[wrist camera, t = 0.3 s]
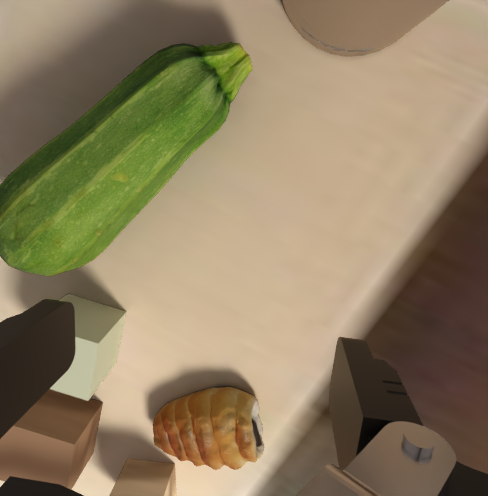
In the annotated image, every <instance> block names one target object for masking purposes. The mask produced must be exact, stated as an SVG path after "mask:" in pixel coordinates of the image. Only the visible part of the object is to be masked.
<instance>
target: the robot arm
mask: <svg viewBox="0 0 488 496" xmlns="http://www.w3.org/2000/svg"><path fill="white" fill-rule="evenodd" d="M448 1H449V0H282V2H283V5H284V8H285V11H286V13H287V15H288V17H289V19H290V21H291V23H292V24H293V26H294V27H295V29H296V30H297V31H298V32H299V33H300V34H301V35H302V37H303V38H304V39H305V40H307V41H308V42H310V43H311V44H312V45H314V46H315V47H316V48H318V49H321V50H323V51H326V52H328V53H330V54H335V55H341V56H360V55H366V54H369V53H373V52H376V51H379V50H381V49H383V48H385V47H387V46H389V45H390V44H392V43H394V42H396V41H397V40H398V39H399V38H401V37H402V36H403V35H405V34H406V33H407V32H408V31H410V30H411V29H412V28H414V27H415V26H417V25H418V24H419V23H421V22H422V21H423V20H425V19H426V18H427V17H429V16H430V15H431V14H432V13H434V12H435V11H436V10H437V9H439V8H440V7H441V6H443V5H444V4H445V3H446V2H448ZM75 349H76V346H75V310H74V306H73V304H72V303H71V302H66V301H58V300H50V299H44V300H42V301H41V302H39V303H38V304H36V305H34V306H33V307H31V308H30V309H28V310H26V311H25V312H23V313H21V314H19V315H16V316H13V317H10V318H7V319H5V320H4V321H2V322H0V439H1V438H2V437H3V436H4V435H5V434H6V433H7V432H8V431H9V429H10V428H11V427H12V426H13V425H14V424H15V423H16V422H17V421H18V420H19V419H20V418H21V417H22V416H23V415H24V414H25V413H26V412H27V411H28V410H29V409H30V408H31V407H32V406H33V405H34V404H35V403H36V402H37V401H38V400H39V399H40V398H41V397H42V396H43V395H44V394H45V393H46V392H47V391H48V390H49V389H50V388H51V387H52V386H53V385H54V384H55V383H56V382H57V381H58V380H59V379H60V378H61V377H62V376H63V375H64V374H65V373H66V372H67V371H68V369H69V368H70V366H71V365H72V362H73V360H74V356H75ZM329 408H330V414H331V420H332V426H333V432H334V438H335V445H336V451H337V457H338V463H339V468H338V467H336V466H335V465H333V464H329V465H327V466H325V467H324V468H323V469H322V470H321V471H320V472H319V473H318V474H317V475H316V476H315V477H314V478H313V479H312V480H311V481H310V482H309V483H308V484H307V485H306V486H305V487H304V488H303V489H302V490H301V491H300V492H299V493H298V494H297V495H296V496H488V474H486V473H483V472H480V471H478V470H475V469H472V468H470V467H467V466H465V465H463V464H461V463H459V462H457V461H456V456H455V453H454V451H453V449H452V447H451V446H450V445H449V444H448V443H447V442H446V440H444V439H443V438H442V437H441V436H440V435H438V434H437V433H435V432H434V431H432V430H430V429H428V428H426V427H424V426H423V424H422V422H421V420H420V418H419V416H418V414H417V412H416V410H415V408H414V406H413V404H412V402H411V400H410V398H409V396H407V391H406V389H405V387H404V385H402V381H401V379H400V377H399V375H398V373H397V371H396V370H395V369H394V368H392V367H391V366H390V365H389V364H388V363H387V362H386V361H385V360H381V359H373V356H372V354H371V351H370V349H369V347H368V344H367V342H366V340H359V339H352V338H344V337H339V338H338V341H337V346H336V352H335V358H334V364H333V370H332V376H331V382H330V390H329ZM0 496H83V495H81V494H79V493H77V492H75V491H73V490H71V489H69V488H66V487H64V486H62V485H60V484H55V483H49V482H43V481H37V480H31V479H25V478H19V477H13V476H10V477H9V478H8V479H7V480H6V481H5V482H4V484H3V485H2V486H1V487H0Z"/></svg>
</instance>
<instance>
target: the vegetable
mask: <svg viewBox="0 0 488 496" xmlns="http://www.w3.org/2000/svg"><path fill="white" fill-rule="evenodd" d="M252 68H253V67H252V65H251V59H250V55H248V54H247V53H246V52H245V50H244V49H243V48H242V46H241V45H240V44H238V43H232V42H230V43H222V44H220V45H217V46H214V45H202V46H199V47H197V46H194V45H190V44H176V45H171V46H169V47H167V48H164V49H162V50H160V51H158V52H157V53H155V54H154V55H153V56H151V57H150V58H149V59H147V60H146V61H145V62H143V63H142V64H141V65H140V66H139V67H138V68H136V69H135V70H134V71H133V72H132V73H131V74H130V75H128V76H127V77H126V78H125V79H124V80H123V81H122V82H121V83H120V84H119V85H118V86H116V87H115V88H114V89H113V90H112V91H111V92H110V93H108V94H107V95H106V96H105V97H104V98H103V99H102V100H100V101H99V102H98V103H97V104H96V105H95V106H94V107H93V108H91V109H90V110H89V111H88V112H87V113H86V114H85V115H84V116H82V117H81V118H80V119H79V120H78V121H76V122H75V123H74V124H73V125H71V126H70V127H69V128H68V129H66V130H65V131H64V132H62V133H61V134H60V135H58V136H57V137H55V138H54V139H53V140H51V141H50V142H49V143H47V144H46V145H44V146H43V147H42V148H40V149H39V150H38V151H37V152H35V153H34V154H33V155H32V156H30V157H29V158H28V159H27V160H26V161H25V162H23V163H22V164H21V165H20V166H19V167H18V168H17V169H15V170H14V171H13V172H12V173H11V174H10V175H9V176H8V177H7V178H6V179H5V180H4V181H3V183H2V184H1V185H0V256H1V258H2V259H3V260H4V261H5V262H6V263H7V264H8V265H9V266H11V267H13V268H16V269H18V270H21V271H24V272H29V273H34V274H39V275H44V276H52V275H55V274H59V273H62V272H66V271H69V270H73V269H75V268H78V267H81V266H83V265H85V264H87V263H88V262H90V261H92V260H94V259H95V258H96V257H97V256H98V255H99V254H101V253H102V252H103V251H104V250H105V249H106V248H107V247H108V246H109V245H110V243H111V242H112V241H113V240H114V239H115V238H116V237H117V236H118V234H119V233H120V232H121V231H122V230H123V229H124V228H125V226H126V225H127V224H128V223H129V222H130V221H131V220H132V219H133V218H134V217H135V216H136V215H137V214H138V213H139V212H140V211H141V210H142V209H143V208H144V207H145V206H146V205H147V204H148V203H149V202H150V201H151V199H152V198H153V197H154V196H155V195H156V194H157V193H158V192H159V191H160V190H161V189H162V188H163V187H164V185H165V184H166V183H167V182H168V181H169V179H170V178H171V177H172V176H173V175H174V174H175V172H176V171H177V170H178V169H179V168H180V166H181V165H182V164H183V163H184V162H185V161H186V160H187V159H188V157H189V156H190V155H191V154H192V153H193V152H194V151H195V150H196V149H197V148H199V147H200V146H201V145H202V144H203V143H204V142H205V141H206V140H207V139H209V138H210V137H211V136H212V135H213V134H215V133H216V132H217V131H218V130H219V129H220V127H221V126H222V125H223V123H224V122H225V120H226V118H227V115H228V113H229V107H230V103H231V102H232V101H233V100H234V98H235V97H236V95H237V93H238V91H239V88H240V86H241V85H242V83H243V82H244V80H245V79H246V78H247V76H248V74H249V73H250V72H251V71H252Z"/></svg>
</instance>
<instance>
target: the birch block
mask: <svg viewBox="0 0 488 496" xmlns="http://www.w3.org/2000/svg"><path fill="white" fill-rule="evenodd" d="M110 496H177V494H176V476H175V463H165V462H155V461H145V460H135V459H127V461H126V463H125V465H124V467H123V469H122V471H121V473H120V475H119V477H118V479H117V481H116V483H115V485H114V487H113V489H112V491H111V494H110Z"/></svg>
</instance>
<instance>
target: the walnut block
mask: <svg viewBox="0 0 488 496" xmlns="http://www.w3.org/2000/svg"><path fill="white" fill-rule="evenodd" d="M102 404H103V402H100V401H97V400H94V399H89V401H87V400H83V399H80V398H77V397H74V396H71V395H67V394H64V393H61V392H58V391H54V390H51V389H49V390H48V391H47V392H46V393H45V394H44V395H43V396H42V397H41V398H40V399H39V400H38V401H37V402H36V403H35V404H34V405H33V406H32V407H31V408H30V409H29V410H28V411H27V412H26V413H25V414H24V415H23V416H22V417H21V418H20V419H19V420H18V421H17V422H16V423H15V424H14V425H13V426H12V427H11V428H10V429H9V431H8V432H7V433H6V434H5V435H4V436H3V437H2V438H1V439H0V480H2V481H6V480H7V479H8V478H9V477H10V476H13V477H19V478H25V479H31V480H37V481H43V482H49V483H55V484H60V485H62V486H64V487H66V488H69V489H72V488H73V486H74V484H75V482H76V481H77V479H78V477H79V476H80V474H81V472H82V471H83V469H84V467H85V466H86V464H87V462H88V461H89V459H90V457H91V456H92V454H93V451H94V446H95V441H96V435H97V430H98V425H99V420H100V415H101V409H102Z"/></svg>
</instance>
